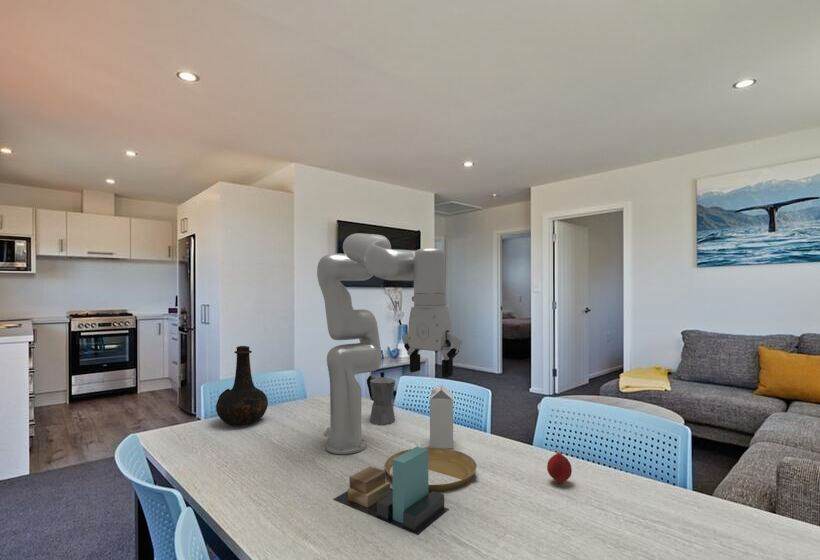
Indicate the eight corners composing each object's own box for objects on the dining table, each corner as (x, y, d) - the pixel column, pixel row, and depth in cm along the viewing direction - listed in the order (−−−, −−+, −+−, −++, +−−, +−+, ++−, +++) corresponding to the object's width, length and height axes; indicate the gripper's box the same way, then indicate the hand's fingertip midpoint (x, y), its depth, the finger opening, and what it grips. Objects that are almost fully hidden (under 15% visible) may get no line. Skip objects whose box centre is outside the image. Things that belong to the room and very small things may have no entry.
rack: (332, 503, 99) (332, 486, 99) (367, 483, 108) (367, 467, 108) (417, 540, 84) (417, 519, 84) (449, 513, 94) (449, 495, 94)
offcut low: (348, 499, 98) (348, 488, 98) (371, 486, 105) (371, 475, 105) (367, 507, 95) (367, 496, 95) (390, 493, 101) (390, 482, 101)
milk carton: (453, 440, 138) (452, 381, 138) (453, 449, 131) (452, 386, 131) (431, 440, 138) (430, 381, 139) (429, 448, 131) (429, 386, 132)
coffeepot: (404, 422, 156) (403, 372, 157) (384, 428, 150) (384, 376, 150) (377, 413, 167) (376, 367, 168) (357, 418, 161) (357, 370, 161)
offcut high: (349, 487, 99) (349, 476, 99) (369, 476, 104) (369, 466, 104) (365, 493, 96) (365, 482, 96) (385, 482, 101) (385, 471, 101)
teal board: (392, 519, 90) (392, 459, 90) (417, 501, 97) (417, 446, 97) (404, 524, 88) (403, 462, 88) (428, 505, 95) (428, 449, 96)
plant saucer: (373, 465, 120) (373, 453, 120) (451, 452, 129) (451, 441, 129) (402, 506, 98) (402, 492, 98) (494, 488, 106) (494, 474, 106)
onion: (571, 479, 110) (571, 448, 110) (572, 490, 104) (571, 457, 104) (547, 476, 112) (547, 445, 112) (547, 486, 106) (546, 454, 106)
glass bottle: (233, 414, 167) (232, 342, 168) (276, 416, 165) (276, 343, 165) (205, 429, 150) (205, 349, 150) (253, 431, 147) (253, 350, 148)
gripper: (392, 301, 104) (393, 372, 104) (449, 302, 93) (451, 381, 92) (412, 300, 110) (413, 367, 109) (469, 301, 98) (470, 376, 98)
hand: (430, 373), depth 101 cm, fingers open, 9 cm apart
